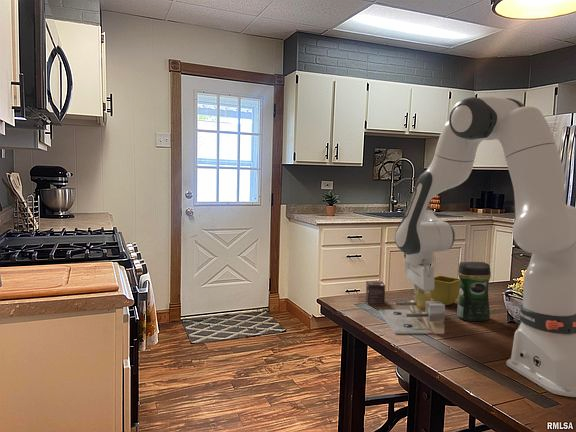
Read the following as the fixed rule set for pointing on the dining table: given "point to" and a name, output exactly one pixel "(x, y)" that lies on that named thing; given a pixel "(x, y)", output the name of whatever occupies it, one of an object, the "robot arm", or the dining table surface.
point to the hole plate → (403, 322)
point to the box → (375, 292)
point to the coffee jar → (473, 291)
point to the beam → (431, 315)
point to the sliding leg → (418, 299)
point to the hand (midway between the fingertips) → (418, 297)
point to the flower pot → (445, 289)
